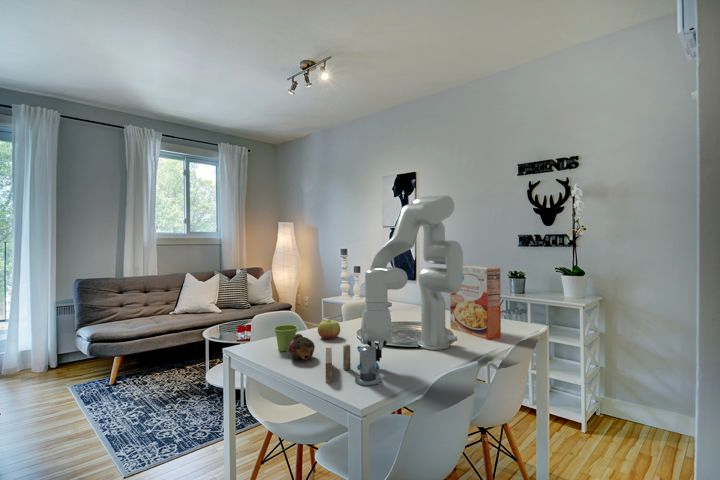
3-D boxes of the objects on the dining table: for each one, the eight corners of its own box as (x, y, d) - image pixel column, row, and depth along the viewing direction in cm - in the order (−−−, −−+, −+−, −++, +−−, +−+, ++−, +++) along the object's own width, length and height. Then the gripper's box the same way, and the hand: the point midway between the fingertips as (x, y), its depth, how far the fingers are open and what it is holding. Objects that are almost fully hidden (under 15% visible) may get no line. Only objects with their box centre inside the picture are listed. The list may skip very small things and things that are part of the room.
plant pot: (303, 349, 151) (302, 327, 151) (283, 354, 145) (283, 331, 144) (288, 344, 158) (288, 323, 158) (269, 349, 151) (269, 327, 151)
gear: (380, 369, 123) (358, 346, 124) (367, 382, 123) (346, 359, 124) (381, 362, 134) (360, 342, 135) (369, 374, 134) (349, 354, 135)
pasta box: (450, 328, 182) (450, 265, 182) (463, 326, 186) (462, 264, 185) (487, 339, 162) (486, 269, 161) (500, 337, 165) (500, 268, 165)
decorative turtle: (306, 350, 149) (307, 330, 149) (320, 365, 136) (322, 343, 135) (282, 353, 144) (283, 332, 144) (294, 368, 131) (295, 345, 131)
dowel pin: (350, 367, 129) (350, 344, 129) (350, 370, 127) (350, 346, 127) (343, 368, 129) (343, 344, 129) (343, 370, 127) (343, 346, 127)
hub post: (379, 375, 122) (378, 344, 122) (382, 385, 114) (382, 352, 114) (354, 376, 121) (353, 345, 121) (356, 386, 113) (355, 353, 113)
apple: (336, 334, 174) (336, 316, 174) (343, 339, 165) (343, 321, 165) (315, 336, 170) (315, 318, 170) (321, 342, 161) (320, 323, 161)
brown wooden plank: (332, 364, 133) (331, 347, 133) (332, 382, 117) (332, 362, 117) (326, 364, 133) (326, 347, 132) (325, 382, 117) (325, 363, 116)
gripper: (396, 303, 133) (396, 356, 133) (353, 304, 132) (354, 357, 132) (400, 307, 125) (400, 363, 126) (355, 308, 124) (355, 365, 125)
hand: (377, 360), depth 129 cm, fingers closed
